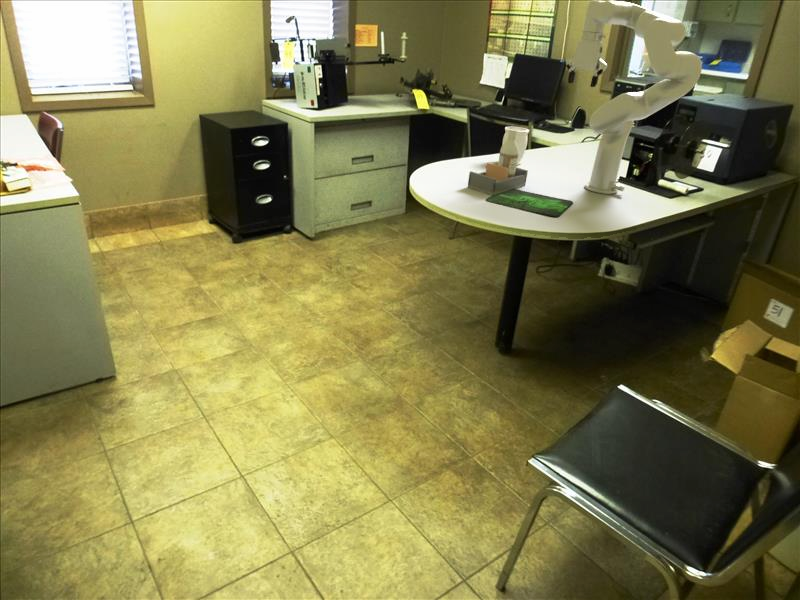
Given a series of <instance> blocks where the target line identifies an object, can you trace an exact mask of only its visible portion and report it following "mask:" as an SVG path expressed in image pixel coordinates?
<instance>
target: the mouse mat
mask: <svg viewBox="0 0 800 600" xmlns="http://www.w3.org/2000/svg"><path fill="white" fill-rule="evenodd" d="M484 201H485V202H487V203H490V204H494V205H499V206H504V207H508V208H512V209H516V210H519V211H525V212H528V213H532V214H538V215H542V216H547V217H552V218H558V217H560V216H561V215H563V213H564V212H565V211H567V210H568V209H569V208H570V207H571V206H572V205H573V204H574V202H573V201H572V200H570V199H564V198H558V197H555V196H554V197H553V196H548V195H545V194H544V195H543V194H539V193H534V192H530V191H525V190H522V189H518V188H516V189H511V190H508V191H506V192H502V193H499V194H496V195H490V196H487V198H485V200H484Z"/></svg>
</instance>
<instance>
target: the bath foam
mask: <svg viewBox="0 0 800 600" xmlns="http://www.w3.org/2000/svg"><path fill="white" fill-rule="evenodd" d="M516 133H517V130H515V129H509V133H508V139H507V140H506V142H505V143H504V144H503V143H502V144H503V145H501V147H500V150H499V157H498V162H497V165H499V166H502V167H506V168H509V170H508V177H507V179H509V178H512V177H515V171H516V167H517V166H518V165H517V159H518V153H519V149H518V145H517V143H516V141H515V139H516Z"/></svg>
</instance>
